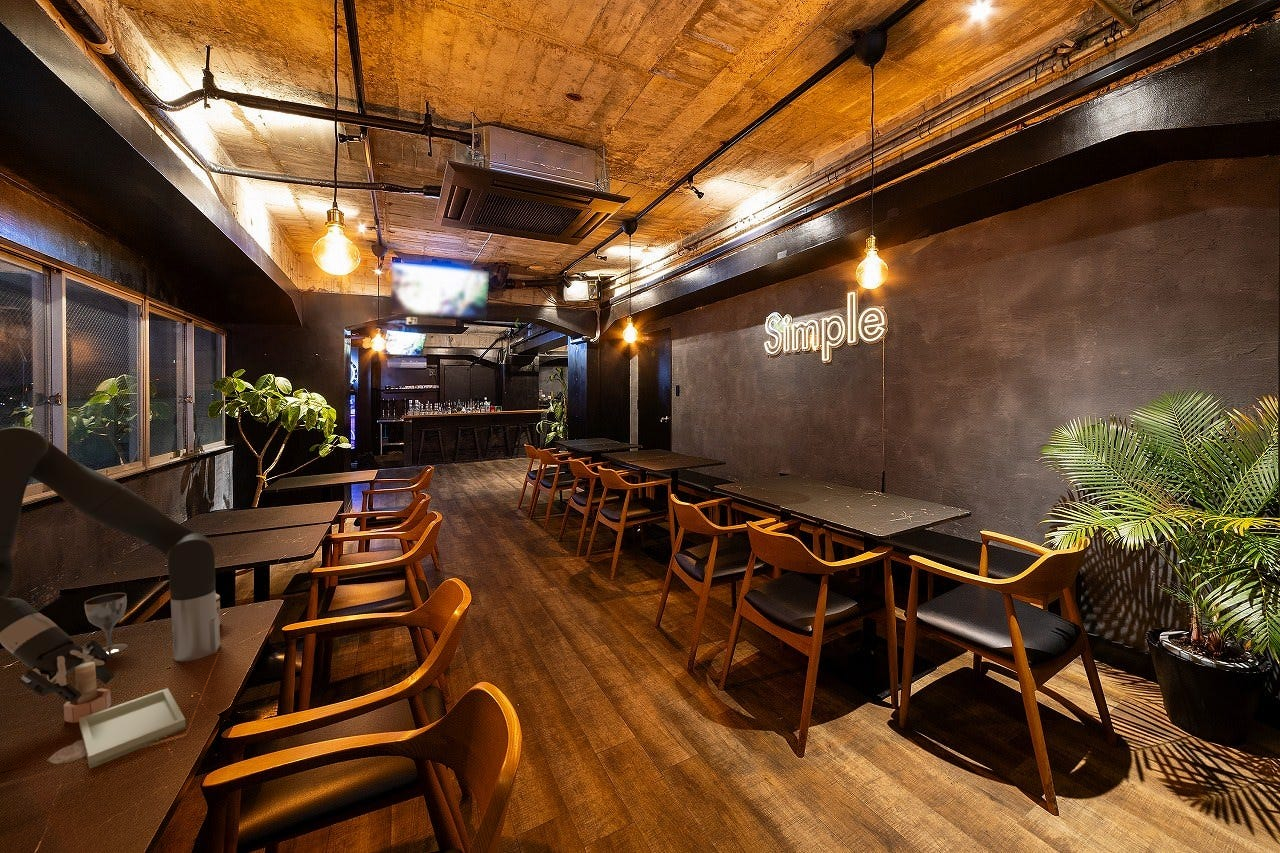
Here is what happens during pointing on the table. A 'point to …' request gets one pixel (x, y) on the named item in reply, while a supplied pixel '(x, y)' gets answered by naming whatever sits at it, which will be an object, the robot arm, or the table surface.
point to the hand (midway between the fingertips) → (94, 689)
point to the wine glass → (107, 616)
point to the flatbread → (69, 753)
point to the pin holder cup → (87, 706)
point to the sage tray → (130, 726)
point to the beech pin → (86, 682)
